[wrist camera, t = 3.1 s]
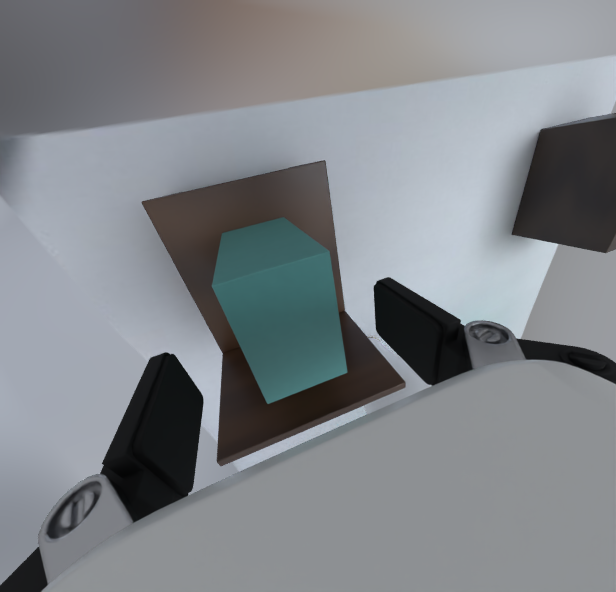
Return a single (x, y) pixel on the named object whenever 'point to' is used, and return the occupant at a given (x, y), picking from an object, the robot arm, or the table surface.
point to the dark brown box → (572, 186)
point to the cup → (404, 370)
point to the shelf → (198, 278)
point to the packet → (281, 306)
